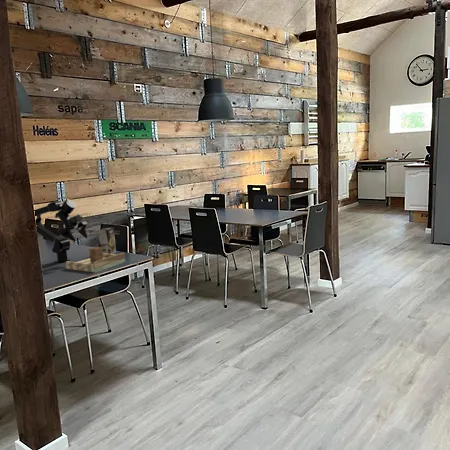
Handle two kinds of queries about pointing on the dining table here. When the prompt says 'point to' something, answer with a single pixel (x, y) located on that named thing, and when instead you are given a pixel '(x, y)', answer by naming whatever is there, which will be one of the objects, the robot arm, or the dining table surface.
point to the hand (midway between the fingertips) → (81, 239)
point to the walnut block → (95, 254)
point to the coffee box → (107, 240)
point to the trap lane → (97, 263)
